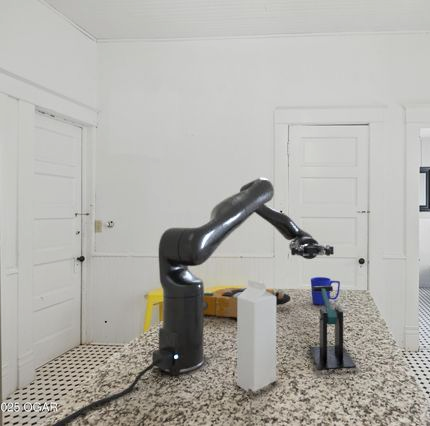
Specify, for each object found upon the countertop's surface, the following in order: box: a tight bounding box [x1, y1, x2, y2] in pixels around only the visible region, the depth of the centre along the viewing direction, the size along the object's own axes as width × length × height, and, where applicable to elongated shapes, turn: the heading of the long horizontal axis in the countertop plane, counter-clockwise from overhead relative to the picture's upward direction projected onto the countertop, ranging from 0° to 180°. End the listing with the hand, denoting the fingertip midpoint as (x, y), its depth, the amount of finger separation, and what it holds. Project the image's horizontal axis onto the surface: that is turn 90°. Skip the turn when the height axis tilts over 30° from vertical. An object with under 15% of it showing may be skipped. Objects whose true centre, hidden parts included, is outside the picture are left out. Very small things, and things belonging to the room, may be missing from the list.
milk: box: [236, 279, 277, 393], centre depth 66 cm, size 6×6×22 cm
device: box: [204, 287, 291, 319], centre depth 117 cm, size 23×8×30 cm
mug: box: [310, 276, 341, 306], centre depth 128 cm, size 8×12×10 cm
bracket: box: [309, 306, 357, 371], centre depth 77 cm, size 12×9×13 cm
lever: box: [313, 285, 337, 326], centre depth 82 cm, size 13×6×2 cm, turn 9°
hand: (315, 252), depth 98 cm, fingers open, 8 cm apart
